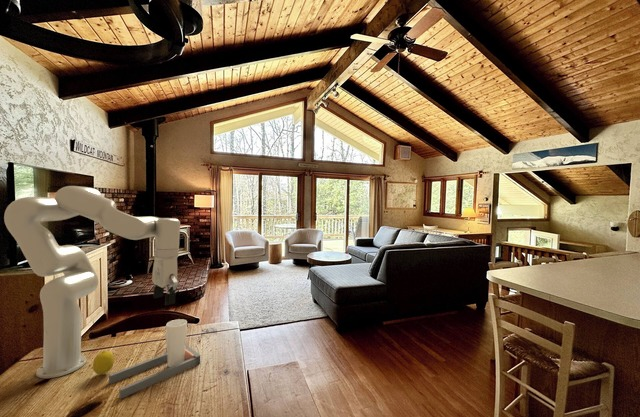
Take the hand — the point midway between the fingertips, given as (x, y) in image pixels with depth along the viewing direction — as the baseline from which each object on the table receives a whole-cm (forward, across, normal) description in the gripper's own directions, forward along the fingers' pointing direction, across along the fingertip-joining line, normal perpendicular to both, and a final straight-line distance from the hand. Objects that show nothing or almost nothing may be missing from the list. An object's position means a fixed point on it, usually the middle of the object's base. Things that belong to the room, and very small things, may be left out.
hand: (164, 300), depth 98 cm
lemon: (+24, -8, -14) cm, 29 cm away
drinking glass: (+23, +4, +4) cm, 24 cm away
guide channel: (+23, +4, -2) cm, 23 cm away
